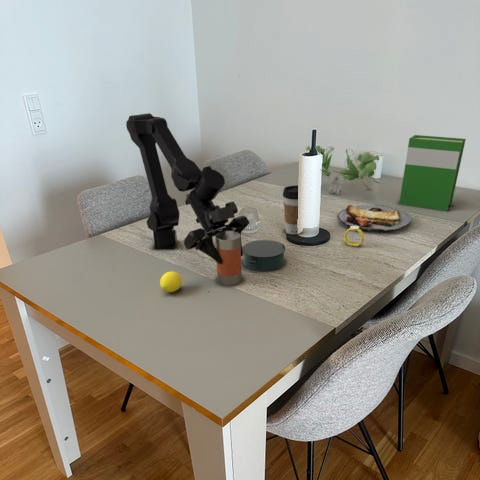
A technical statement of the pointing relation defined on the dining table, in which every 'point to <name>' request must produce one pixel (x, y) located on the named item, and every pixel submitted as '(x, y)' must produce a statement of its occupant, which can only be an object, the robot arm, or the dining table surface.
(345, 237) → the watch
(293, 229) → the coffee cup
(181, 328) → the dining table surface
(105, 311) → the dining table surface
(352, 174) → the plant cuttings
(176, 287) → the lemon
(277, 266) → the pot
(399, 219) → the food plate
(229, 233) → the can
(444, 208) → the hardback book
